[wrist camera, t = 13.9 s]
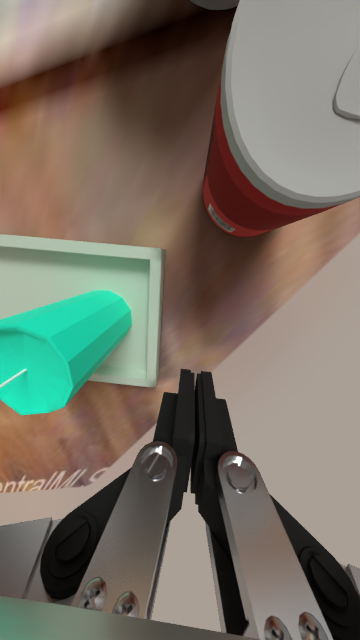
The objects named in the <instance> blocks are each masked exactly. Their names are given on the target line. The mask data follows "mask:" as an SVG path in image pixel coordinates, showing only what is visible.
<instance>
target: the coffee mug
mask: <svg viewBox="0 0 360 640" xmlns="http://www.w3.org/2000/svg"><path fill="white" fill-rule="evenodd" d="M190 1H191V2H193V3H194V4H196V5H198V6H201V7H203V8H206V9H209V10H226V9H231V8H233V7H236V6H238V4H239V1H240V0H190Z"/></svg>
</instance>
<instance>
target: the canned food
mask: <svg viewBox="0 0 360 640" xmlns="http://www.w3.org/2000/svg"><path fill="white" fill-rule="evenodd" d="M358 197H360V0H240V1H239V4H238V7H237V10H236V13H235V16H234V19H233V23H232V28H231V32H230V35H229V38H228V41H227V45H226V51H225V56H224V62H223V67H222V72H221V77H220V83H219V88H218V94H217V99H216V105H215V112H214V118H213V124H212V130H211V137H210V143H209V149H208V156H207V162H206V168H205V174H204V181H203V198H204V204H205V207H206V210H207V212H208V214H209V216H210V218H211V219H212V221H213V222H214V223H215V224H216V225H217V226H218V227H219V228H220V229H222V230H223V231H224V232H226V233H229V234H231V235H234V236H239V237H251V236H256V235H259V234H262V233H265V232H268V231H271V230H273V229H276V228H279V227H282V226H284V225H287V224H290V223H293V222H296V221H298V220H301V219H304V218H307V217H310V216H312V215H315V214H318V213H321V212H323V211H326V210H328V209H331V208H333V207H336V206H338V205H341V204H344V203H346V202H348V201H351V200H353V199H356V198H358Z"/></svg>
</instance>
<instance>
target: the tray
mask: <svg viewBox="0 0 360 640" xmlns="http://www.w3.org/2000/svg"><path fill="white" fill-rule="evenodd" d="M165 252H166V250H164V249H160V248H148V247H137V246H126V245H115V244H104V243H93V242H81V241H70V240H59V239H48V238H37V237H25V236H14V235H3V234H0V320H1V319H4V318H7V317H11V316H14V315H17V314H20V313H23V312H27V311H30V310H33V309H36V308H39V307H43V306H46V305H49V304H52V303H55V302H59V301H62V300H65V299H68V298H71V297H75V296H78V295H81V294H84V293H87V292H91V291H94V290H109V291H111V292H113V293H115V294H117V295H119V296H120V297H122V298H123V299H124V301H125V302H126V304H127V305H128V306H129V308H130V309H131V316H132V325H131V327H130V329H129V331H128V333H127V335H126V336H125V337H124V338H123V339H122V340H121V342H120V343H119V344H118V345H117V346H116V347H115V349H114V350H113V351H112V352H111V353H110V354H109V356H108V357H107V358H106V359H105V360H104V361H103V363H102V364H101V365H100V366H99V367H98V368H97V370H96V371H95V372H94V373H93V374H92V375H91V377H90V378H89V379H88V381H97V382H107V383H116V384H125V385H134V386H143V387H153V388H155V386H156V383H157V379H158V376H159V361H160V343H161V325H162V307H163V288H164V270H165Z"/></svg>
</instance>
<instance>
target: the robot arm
mask: <svg viewBox="0 0 360 640" xmlns="http://www.w3.org/2000/svg"><path fill="white" fill-rule="evenodd" d="M190 468H191V493H194V494H195V504H198V511H199V513H200V514H201V516H202V517H203V519H204V520H205V522H206V533H207V539H208V546H209V553H210V559H211V566H212V573H213V579H214V586H215V593H216V600H217V606H218V613H219V620H220V627H221V632H216V631H210V630H205V629H199V628H193V627H188V626H182V625H176V624H170V623H164V622H159V621H154V620H151V618H152V613H153V608H154V603H155V598H156V593H157V587H158V582H159V577H160V572H161V567H162V562H163V557H164V552H165V547H166V542H167V537H168V532H169V526H170V521H171V520H172V518H173V517H174V516H175V515H176V514H177V513H178V512H179V510H181V506H182V500H183V493H184V492H187V487H188V481H189V474H190ZM0 640H360V569H359V568H357V567H355V566H352V565H350V564H348V565H347V567H346V566H343V565H341V564H339V563H338V562H337V561H336V559H335V558H334V557H333V556H332V555H331V554H330V553H329V552H328V551H327V550H326V549H325V548H324V547H323V546H322V545H321V544H320V543H319V542H318V541H317V540H316V539H315V538H314V537H313V536H312V535H311V534H310V533H309V532H308V531H307V530H306V529H305V528H304V527H303V526H302V525H301V524H299V522H298V521H297V520H296V519H295V518H293V517H292V516H291V515H290V514H289V513H288V512H287V511H286V510H285V509H284V508H283V507H282V506H281V505H280V504H279V503H278V502H277V501H276V500H275V499H274V498H273V497H272V496H271V495H270V494H269V492H268V490H267V488H266V486H265V483H264V481H263V479H262V477H261V474H260V472H259V471H258V469H257V467H256V466H255V464H254V463H253V462H252V461H251V460H250V459H249V458H248V457H246V456H245V455H244V454H241V453H239V452H238V451H237V446H236V442H235V438H234V434H233V429H232V425H231V420H230V416H229V412H228V408H227V404H226V400H225V399H217V398H216V397H215V391H214V385H213V379H212V373H211V372H204V371H201V374H198V373H197V378H196V385H195V388H194V373H191V370H187V369H181V374H180V383H179V391H178V394H176V393H168V392H164V394H163V399H162V403H161V408H160V412H159V416H158V421H157V425H156V430H155V435H154V439H153V442H151V443H149V444H147V445H145V446H144V447H143V448H142V449H141V450H140V452H139V453H138V455H137V457H136V459H135V461H134V464H133V466H132V467H131V468H130V469H129V470H128V471H126V472H125V473H123V474H122V475H121V476H119V477H118V478H117V479H115V480H114V481H113V482H111V483H110V484H108V485H107V486H106V487H104V488H103V489H102V490H100V491H99V492H98V493H96V494H95V495H94V496H92V497H91V498H89V499H88V500H87V501H85V502H84V503H83V504H81V505H80V506H79V507H77V508H76V509H75V510H73V511H72V512H71V513H69V514H68V515H67V516H66V517H65V518H64V519H59V520H53V521H52V518H45V519H39V520H33V521H27V522H21V523H15V524H10V525H3V526H0Z"/></svg>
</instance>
